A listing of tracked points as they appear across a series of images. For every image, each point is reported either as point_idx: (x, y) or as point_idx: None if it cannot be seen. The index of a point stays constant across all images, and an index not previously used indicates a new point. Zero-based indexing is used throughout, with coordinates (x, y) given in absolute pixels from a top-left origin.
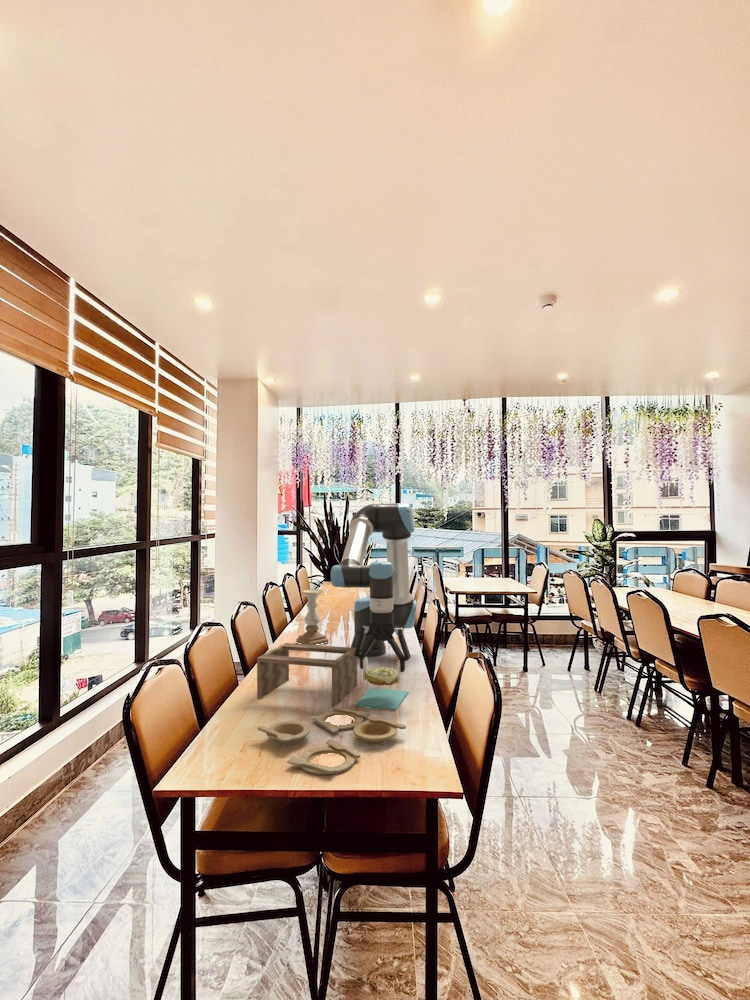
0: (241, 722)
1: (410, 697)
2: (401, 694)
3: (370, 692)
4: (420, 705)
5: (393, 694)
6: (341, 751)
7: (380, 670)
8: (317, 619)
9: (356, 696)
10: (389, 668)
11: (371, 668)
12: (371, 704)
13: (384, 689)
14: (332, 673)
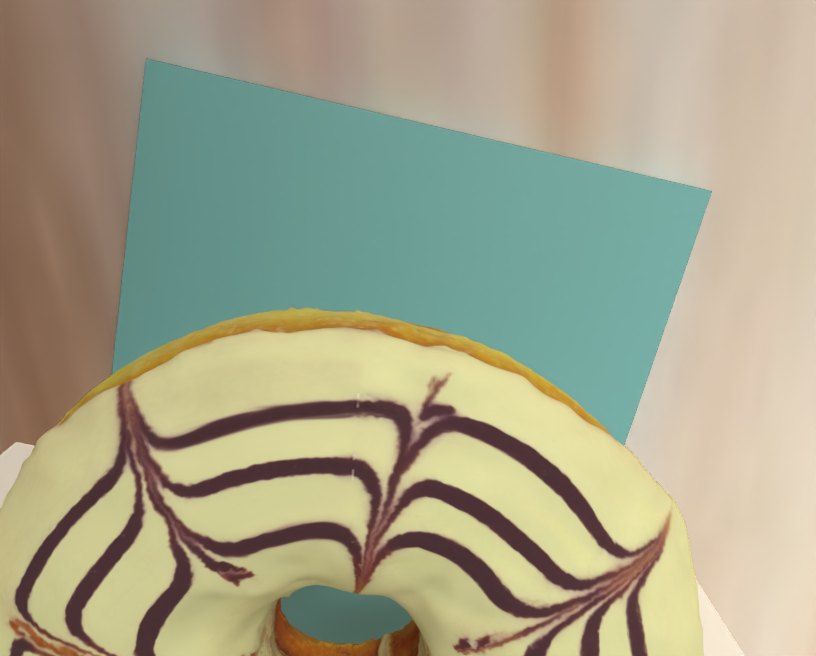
0: None
1: (707, 347)
2: (603, 327)
3: (180, 271)
4: (786, 577)
5: (498, 331)
6: None
7: (281, 596)
8: None
9: (24, 345)
10: (495, 588)
11: (47, 600)
12: None
13: (363, 132)
14: None
